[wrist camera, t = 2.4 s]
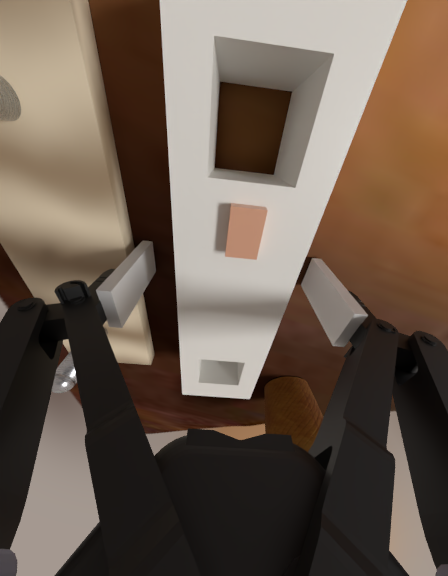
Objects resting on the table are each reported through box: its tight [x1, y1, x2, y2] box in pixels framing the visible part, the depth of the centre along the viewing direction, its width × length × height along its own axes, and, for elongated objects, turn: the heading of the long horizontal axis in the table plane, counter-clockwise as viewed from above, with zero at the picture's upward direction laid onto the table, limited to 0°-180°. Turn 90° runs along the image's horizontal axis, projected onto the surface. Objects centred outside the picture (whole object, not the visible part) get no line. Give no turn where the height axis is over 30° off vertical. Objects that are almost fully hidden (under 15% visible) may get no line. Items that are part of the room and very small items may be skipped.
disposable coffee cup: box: [264, 377, 324, 452], centre depth 23 cm, size 10×10×12 cm
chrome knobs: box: [0, 75, 108, 393], centre depth 12 cm, size 19×2×7 cm, turn 174°
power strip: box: [160, 0, 407, 399], centre depth 14 cm, size 26×7×6 cm, turn 174°
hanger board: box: [0, 0, 154, 365], centre depth 15 cm, size 28×9×2 cm, turn 174°
